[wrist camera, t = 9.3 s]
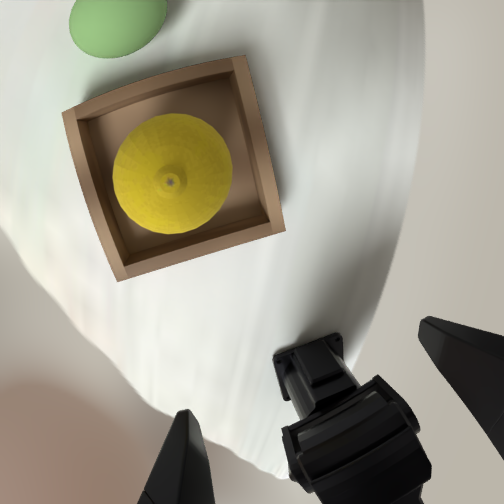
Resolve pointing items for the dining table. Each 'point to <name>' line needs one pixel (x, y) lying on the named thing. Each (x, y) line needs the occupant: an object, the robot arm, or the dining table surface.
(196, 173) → the lemon
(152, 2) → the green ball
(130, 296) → the dining table surface
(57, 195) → the dining table surface
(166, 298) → the dining table surface
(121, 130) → the walnut tray
